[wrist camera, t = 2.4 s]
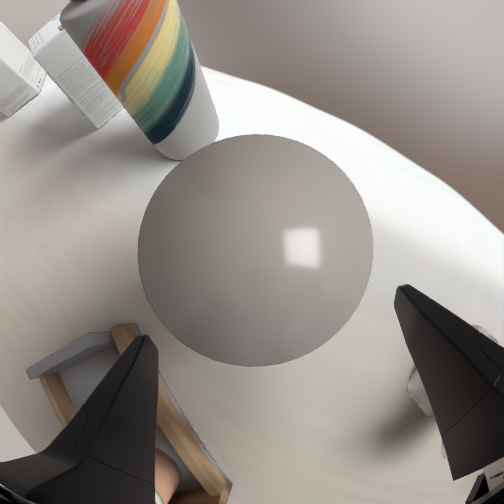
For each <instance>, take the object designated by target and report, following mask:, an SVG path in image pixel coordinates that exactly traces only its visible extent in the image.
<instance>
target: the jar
mask: <svg viewBox="0 0 504 504" xmlns="http://www.w3.org/2000/svg"><path fill="white" fill-rule="evenodd" d="M181 481H182V474H181V470H180V468H179V466H178V465H177V463H176V462H175V461H174V460H173V459H172V458H171V457H170V456H169V455H168V454H167V453H165V452H164V451H162V450H160V449H158V448H156V447H155V503H156V504H168V502H169V500H170V499H171V497H172V496H173V494H174V493H175V491H176V490H177V488H178V486H179V485H180V483H181Z"/></svg>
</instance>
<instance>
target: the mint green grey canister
mask: <svg viewBox="0 0 504 504" xmlns="http://www.w3.org/2000/svg"><path fill="white" fill-rule="evenodd" d="M372 261H373V237H372V229H371V224H370V220H369V217H368V213H367V210H366V208H365V205H364V203H363V201H362V198H361V196H360V195H359V193H358V191H357V189H356V188H355V186H354V184H353V183H352V182H351V181H350V179H349V178H348V177H347V175H346V174H345V173H344V172H343V171H342V170H341V169H340V168H339V167H338V166H337V165H336V164H335V163H334V162H333V161H331V160H330V159H329V158H327V157H326V156H325V155H323V154H322V153H320V152H319V151H317V150H315V149H313V148H312V147H310V146H307V145H305V144H303V143H300V142H298V141H295V140H292V139H288V138H284V137H280V136H273V135H259V134H252V135H241V136H235V137H231V138H226V139H223V140H220V141H217V142H214V143H212V144H209V145H207V146H205V147H203V148H201V149H199V150H197V151H196V152H194V153H193V154H191V155H189V156H188V157H187V158H185V159H184V160H183V161H182V162H180V163H179V164H178V165H177V166H176V167H175V168H174V169H173V170H172V171H171V172H170V173H169V174H168V175H167V176H166V177H165V178H164V180H163V181H162V182H161V184H160V185H159V186H158V188H157V189H156V191H155V193H154V194H153V196H152V198H151V200H150V202H149V204H148V206H147V209H146V211H145V214H144V217H143V220H142V224H141V227H140V233H139V239H138V264H139V272H140V277H141V281H142V285H143V288H144V291H145V293H146V296H147V299H148V301H149V303H150V304H151V306H152V308H153V310H154V312H155V313H156V315H157V316H158V318H159V319H160V320H161V322H162V323H163V325H164V326H165V327H166V328H167V329H168V330H169V331H170V332H171V333H172V334H173V335H174V336H175V337H176V338H177V339H179V340H180V341H181V342H182V343H184V344H185V345H186V346H188V347H189V348H191V349H193V350H194V351H196V352H198V353H199V354H201V355H204V356H206V357H208V358H211V359H213V360H216V361H220V362H223V363H227V364H231V365H239V366H247V367H250V366H269V365H275V364H281V363H284V362H288V361H291V360H294V359H297V358H299V357H301V356H304V355H306V354H308V353H310V352H312V351H314V350H315V349H317V348H318V347H320V346H321V345H323V344H324V343H326V342H327V341H328V340H329V339H331V338H332V337H333V336H334V335H335V334H336V333H337V332H339V331H340V329H341V328H342V327H343V326H344V325H345V324H346V322H347V321H348V320H349V319H350V318H351V316H352V314H353V313H354V311H355V310H356V308H357V307H358V305H359V303H360V301H361V299H362V297H363V295H364V292H365V290H366V287H367V284H368V281H369V277H370V274H371V268H372Z"/></svg>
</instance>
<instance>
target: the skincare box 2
mask: <svg viewBox="0 0 504 504" xmlns="http://www.w3.org/2000/svg"><path fill="white" fill-rule="evenodd" d="M60 14H61V13H60ZM60 14H58V15H57V16H56V17H55V18H53V19H52V20H51V21H50V22H49V23H48V24H46V25H45V26H44V27H43V28H42V29H40V30H39V31H38V32H37V33H36V34H35V35H34V36H33V37H32V38H31V39H30V40H29V41H28V44H29V47H30V50H31V53H32V55H33V58H34V59H35V60H36V61H37V62H38V63H39V64H40V66H41V67H42V68H43V69H44V70H45V72H46V73H47V74H48V75H49V76H50V78H51V79H52V80H53V81H54V82H55V83H56V84H57V86H58V87H59V88H60V89H61V90H62V91H63V92H64V93H65V95H66V96H67V97H68V98H69V99H70V100H71V101H72V102H73V103H74V104H75V105H76V107H77V108H78V109H79V110H80V111H81V112H82V113H83V114H84V115H85V116H86V118H87V119H88V120H89V121H90V122H91V123H92V124H93V125H94V126H95V127H96V128H97V129H98V128H100V127H101V126H103V125H104V124H105V123H106V122H107V121H109V120H110V119H111V118H112V117H113V116H115V115H116V114H117V113H118V112H119V111H120V110H122V109H123V108H124V107H123V105H122V104H121V103H120V101H119V100H118V99H117V98H116V96H115V95H114V94H113V92H112V91H111V90H110V88H109V87H108V86H107V85H106V83H105V82H104V81H103V79H102V78H101V77H100V75H99V74H98V73H97V72H96V70H95V69H94V68H93V66H92V65H91V64H90V62H89V61H88V60H87V58H86V57H85V56H84V55H83V53H82V52H81V51H80V49H79V48H78V47H77V45H76V44H75V43H74V41H73V40H72V39H71V37H70V36H69V34H68V33H67V32H66V30H65V29H64V27H63V26H62V24H61V23H60V20H59V18H60Z"/></svg>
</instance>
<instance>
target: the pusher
mask: <svg viewBox="0 0 504 504" xmlns="http://www.w3.org/2000/svg"><path fill="white" fill-rule="evenodd" d="M114 344H116V343H115V341H114V339H113V336H112V334H111V332H110V331H105V332H96V333H88V334H86V335H84V336H83V337H81V338H79V339H77V340H76V341H74V342H72V343H70V344H69V345H67V346H65V347H64V348H62V349H60V350H58V351H57V352H55V353H53V354H52V355H50V356H48V357H46V358H45V359H43V360H41V361H40V362H38V363H36V364H35V365H33V366H31V367H29V368H28V369H26V371H27V374H28V377H29V379H33V378H38V377H43V376H47V375H51V374H56V373H60V372H62V371H63V370H65V369H67V368H69V367H71V366H73V365H75V364H77V363H79V362H81V361H83V360H85V359H87V358H89V357H91V356H93V355H95V354H97V353H99V352H101V351H103V350H105V349H106V348H108V347H110V346H112V345H114Z"/></svg>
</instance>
